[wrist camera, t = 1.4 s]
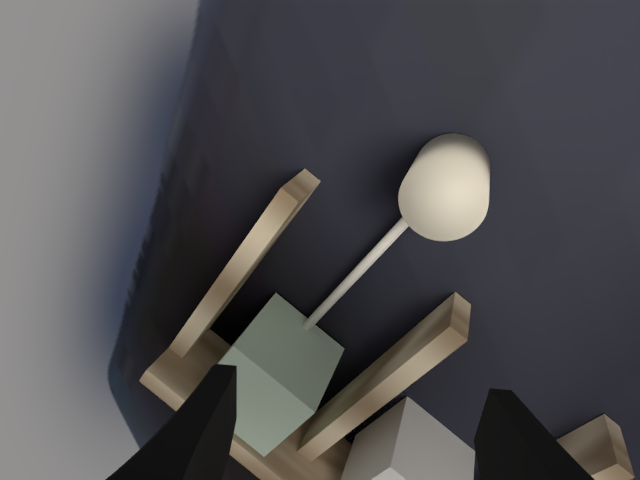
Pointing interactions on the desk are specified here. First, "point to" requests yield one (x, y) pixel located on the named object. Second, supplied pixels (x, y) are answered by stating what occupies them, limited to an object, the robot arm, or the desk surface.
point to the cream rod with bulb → (302, 334)
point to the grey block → (408, 448)
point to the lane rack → (359, 395)
